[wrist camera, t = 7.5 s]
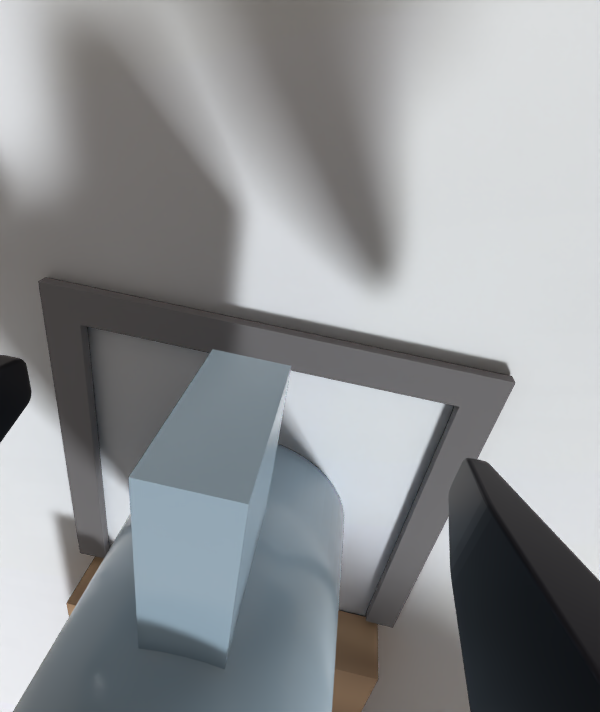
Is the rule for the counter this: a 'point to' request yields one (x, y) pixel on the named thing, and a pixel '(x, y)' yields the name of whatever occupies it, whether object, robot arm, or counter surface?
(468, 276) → the counter surface
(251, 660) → the jug
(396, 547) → the frame
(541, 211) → the counter surface
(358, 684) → the cradle
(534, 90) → the counter surface
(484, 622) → the robot arm
